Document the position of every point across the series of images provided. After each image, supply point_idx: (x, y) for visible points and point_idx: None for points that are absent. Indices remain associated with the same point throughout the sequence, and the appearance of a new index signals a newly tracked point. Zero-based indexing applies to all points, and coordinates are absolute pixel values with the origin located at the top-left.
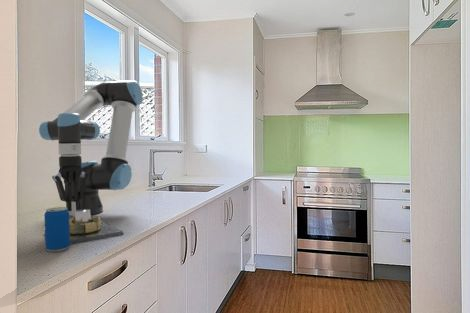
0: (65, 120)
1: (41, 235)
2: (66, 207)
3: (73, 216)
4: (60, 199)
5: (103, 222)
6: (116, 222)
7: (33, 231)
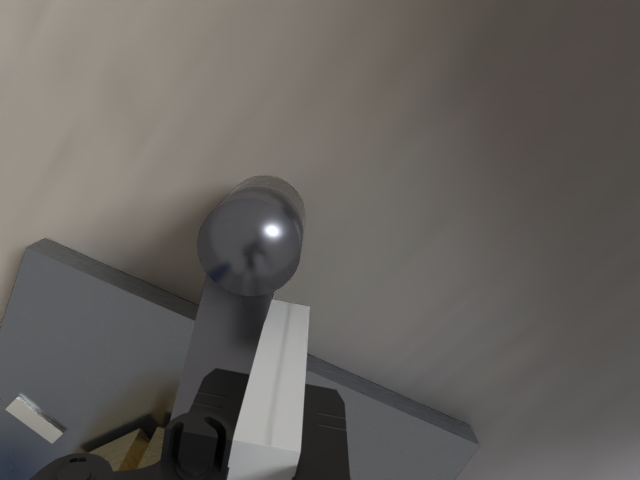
0: None
1: (5, 255)
2: (193, 402)
3: None
4: (38, 473)
5: (456, 469)
6: (578, 461)
7: (41, 42)
